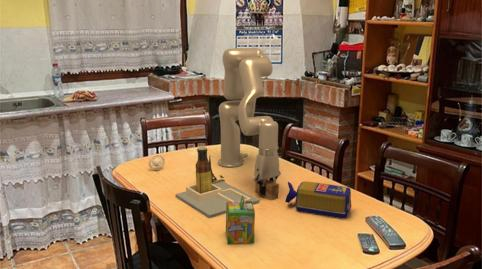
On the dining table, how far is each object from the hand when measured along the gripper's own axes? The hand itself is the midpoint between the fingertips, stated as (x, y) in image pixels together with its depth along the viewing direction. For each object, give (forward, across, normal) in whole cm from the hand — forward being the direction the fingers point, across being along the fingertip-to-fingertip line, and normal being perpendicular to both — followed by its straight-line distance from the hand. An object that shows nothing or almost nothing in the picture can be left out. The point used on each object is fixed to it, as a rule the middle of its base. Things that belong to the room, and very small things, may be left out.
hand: (266, 192), depth 192 cm
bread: (+1, -6, +23) cm, 24 cm away
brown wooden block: (+1, 0, 0) cm, 1 cm away
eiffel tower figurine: (+2, +10, -28) cm, 29 cm away
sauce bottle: (0, +22, -14) cm, 26 cm away
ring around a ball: (+2, +22, -54) cm, 58 cm away
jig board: (+1, +19, -9) cm, 21 cm away
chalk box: (+1, +31, +22) cm, 38 cm away
